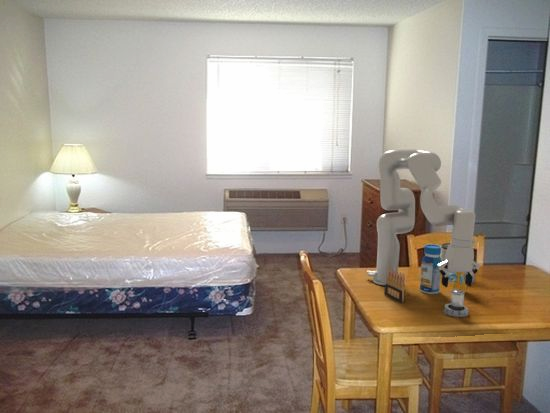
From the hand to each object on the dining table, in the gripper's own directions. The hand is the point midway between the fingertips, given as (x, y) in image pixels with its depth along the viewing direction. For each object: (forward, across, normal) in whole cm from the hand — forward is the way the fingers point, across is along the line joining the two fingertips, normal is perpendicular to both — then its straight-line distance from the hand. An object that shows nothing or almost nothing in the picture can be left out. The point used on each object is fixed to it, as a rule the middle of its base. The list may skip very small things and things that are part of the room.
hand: (456, 285), depth 195 cm
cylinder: (+12, -15, -22) cm, 29 cm away
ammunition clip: (+12, +17, -17) cm, 27 cm away
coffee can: (+12, -23, -44) cm, 52 cm away
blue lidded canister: (+12, -2, -23) cm, 26 cm away
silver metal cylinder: (+10, 0, +1) cm, 10 cm away
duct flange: (+11, 0, +1) cm, 11 cm away
